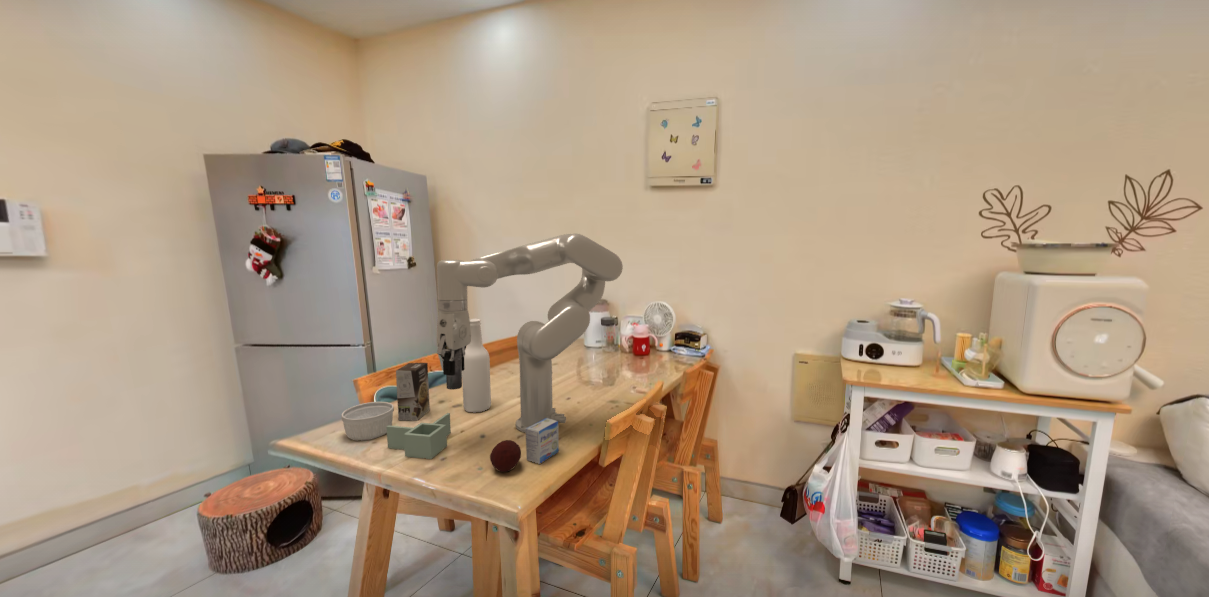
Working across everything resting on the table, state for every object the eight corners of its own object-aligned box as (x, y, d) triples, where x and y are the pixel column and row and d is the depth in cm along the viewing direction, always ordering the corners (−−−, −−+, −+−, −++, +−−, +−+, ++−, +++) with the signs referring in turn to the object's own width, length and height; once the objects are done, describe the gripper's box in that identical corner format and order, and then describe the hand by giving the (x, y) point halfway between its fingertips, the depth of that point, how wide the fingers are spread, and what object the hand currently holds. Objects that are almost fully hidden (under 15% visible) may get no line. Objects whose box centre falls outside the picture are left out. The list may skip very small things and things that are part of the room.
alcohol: (481, 414, 137) (477, 322, 133) (458, 411, 140) (454, 321, 136) (496, 405, 145) (493, 318, 141) (474, 402, 148) (470, 316, 144)
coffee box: (418, 421, 132) (415, 370, 130) (397, 420, 132) (394, 370, 130) (430, 409, 141) (428, 362, 139) (411, 409, 141) (408, 362, 139)
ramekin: (366, 446, 116) (364, 421, 115) (331, 438, 120) (329, 415, 119) (405, 427, 128) (403, 404, 127) (371, 420, 132) (370, 399, 132)
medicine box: (539, 465, 106) (538, 431, 105) (525, 460, 108) (525, 427, 107) (559, 452, 112) (558, 420, 111) (546, 448, 115) (545, 417, 114)
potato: (522, 457, 109) (521, 431, 108) (520, 475, 101) (519, 447, 100) (492, 459, 108) (492, 433, 107) (488, 477, 100) (487, 449, 99)
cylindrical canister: (464, 385, 119) (464, 343, 117) (457, 390, 115) (456, 346, 113) (451, 384, 120) (450, 342, 118) (443, 388, 116) (442, 345, 114)
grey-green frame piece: (461, 433, 123) (460, 413, 122) (431, 459, 108) (429, 436, 108) (414, 429, 126) (413, 410, 125) (379, 453, 111) (377, 431, 110)
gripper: (448, 310, 106) (449, 382, 108) (480, 303, 122) (481, 365, 124) (421, 309, 107) (423, 380, 109) (456, 301, 123) (457, 363, 126)
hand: (454, 371), depth 117 cm, fingers closed on cylindrical canister, 4 cm apart
